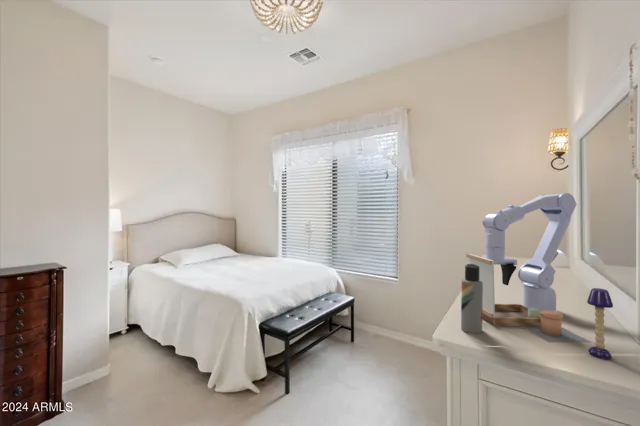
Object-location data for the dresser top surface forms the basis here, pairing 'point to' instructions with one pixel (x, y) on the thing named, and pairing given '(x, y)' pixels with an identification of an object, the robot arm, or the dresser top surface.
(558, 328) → the terracotta pot
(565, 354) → the dresser top surface
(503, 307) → the wooden tray
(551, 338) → the mat
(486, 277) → the lid
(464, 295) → the lotion bottle
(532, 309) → the pale green egg
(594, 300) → the toy lamp
